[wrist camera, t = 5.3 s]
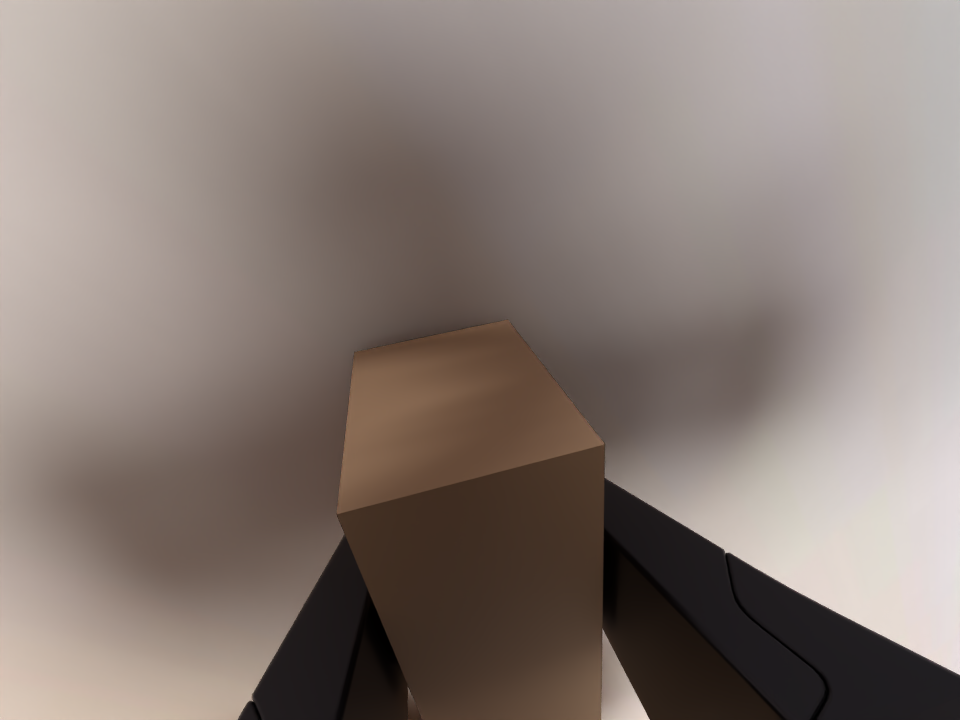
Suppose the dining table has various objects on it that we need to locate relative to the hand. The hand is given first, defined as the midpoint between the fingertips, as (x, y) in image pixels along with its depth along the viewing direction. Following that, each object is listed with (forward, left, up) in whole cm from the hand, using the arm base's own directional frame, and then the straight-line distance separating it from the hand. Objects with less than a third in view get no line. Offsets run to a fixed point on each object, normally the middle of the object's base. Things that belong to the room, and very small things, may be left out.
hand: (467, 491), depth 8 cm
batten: (0, +6, -2) cm, 6 cm away
